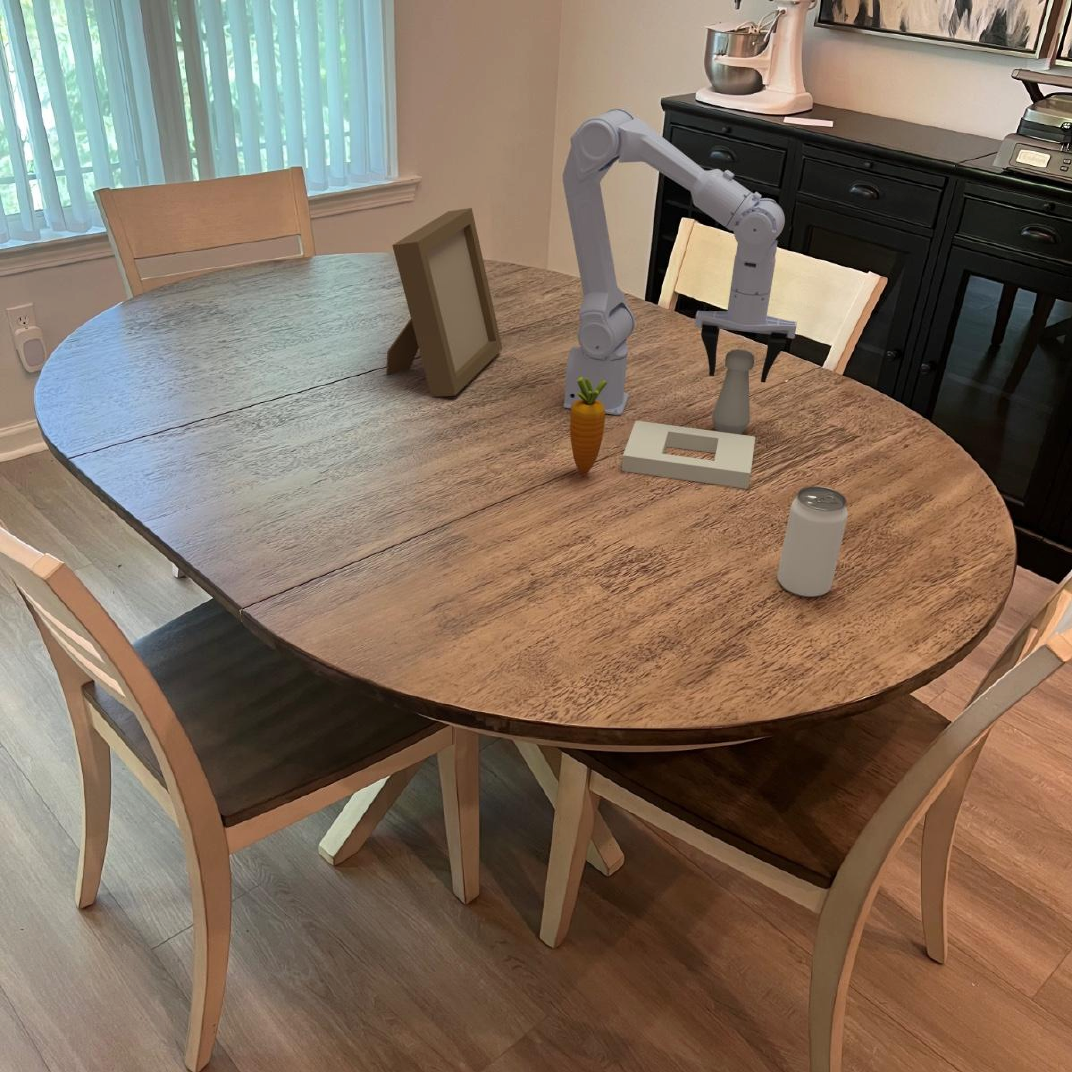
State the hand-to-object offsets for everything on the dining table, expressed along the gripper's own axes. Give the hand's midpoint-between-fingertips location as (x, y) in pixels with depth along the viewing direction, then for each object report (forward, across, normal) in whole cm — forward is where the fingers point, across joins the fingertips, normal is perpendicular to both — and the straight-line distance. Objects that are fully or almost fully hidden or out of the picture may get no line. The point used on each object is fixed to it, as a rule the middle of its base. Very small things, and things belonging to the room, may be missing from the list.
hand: (737, 376), depth 156 cm
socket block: (+9, +5, +12) cm, 16 cm away
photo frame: (+9, +50, -9) cm, 52 cm away
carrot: (+9, +19, +21) cm, 30 cm away
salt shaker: (+9, 0, 0) cm, 9 cm away
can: (+9, -12, +40) cm, 43 cm away
